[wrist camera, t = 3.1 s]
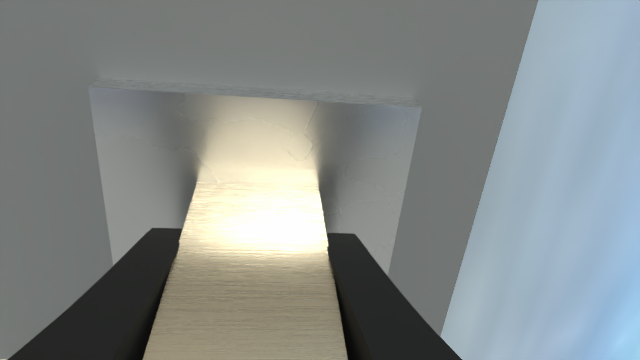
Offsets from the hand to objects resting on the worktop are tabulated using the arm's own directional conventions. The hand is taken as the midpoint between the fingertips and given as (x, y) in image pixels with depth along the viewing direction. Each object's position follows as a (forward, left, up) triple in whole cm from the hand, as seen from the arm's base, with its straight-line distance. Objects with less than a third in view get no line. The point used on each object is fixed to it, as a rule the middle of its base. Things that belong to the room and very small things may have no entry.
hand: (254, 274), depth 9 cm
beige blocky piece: (0, 0, -2) cm, 2 cm away
